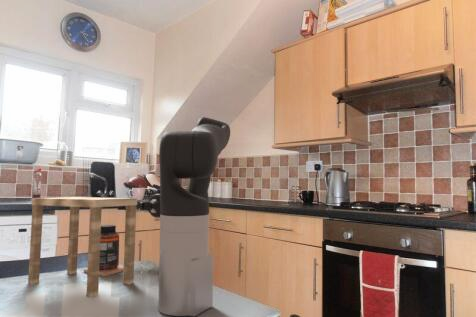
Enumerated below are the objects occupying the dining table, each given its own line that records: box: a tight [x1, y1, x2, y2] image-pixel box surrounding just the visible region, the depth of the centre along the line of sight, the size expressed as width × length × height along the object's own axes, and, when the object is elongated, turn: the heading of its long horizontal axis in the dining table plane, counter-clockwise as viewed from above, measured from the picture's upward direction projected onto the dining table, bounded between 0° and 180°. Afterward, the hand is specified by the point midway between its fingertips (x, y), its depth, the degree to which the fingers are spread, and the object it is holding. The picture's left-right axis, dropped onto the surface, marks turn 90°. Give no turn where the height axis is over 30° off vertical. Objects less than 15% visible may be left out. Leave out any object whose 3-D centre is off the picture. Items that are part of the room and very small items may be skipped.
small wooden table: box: [27, 196, 138, 298], centre depth 79 cm, size 22×12×20 cm, turn 63°
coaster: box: [83, 264, 124, 277], centre depth 90 cm, size 8×8×1 cm
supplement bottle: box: [99, 224, 120, 270], centre depth 90 cm, size 6×6×11 cm
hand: (129, 206), depth 94 cm, fingers open, 8 cm apart
